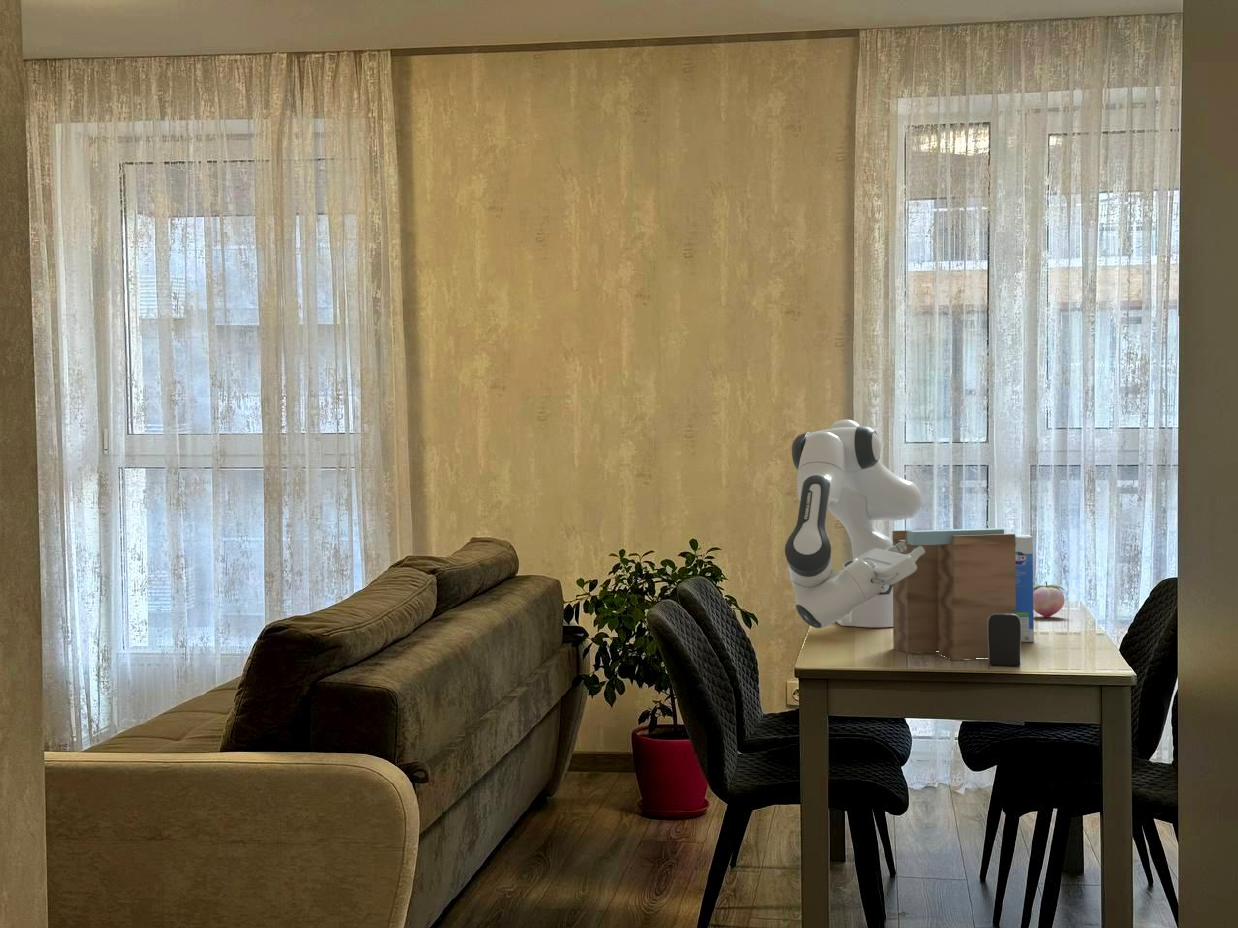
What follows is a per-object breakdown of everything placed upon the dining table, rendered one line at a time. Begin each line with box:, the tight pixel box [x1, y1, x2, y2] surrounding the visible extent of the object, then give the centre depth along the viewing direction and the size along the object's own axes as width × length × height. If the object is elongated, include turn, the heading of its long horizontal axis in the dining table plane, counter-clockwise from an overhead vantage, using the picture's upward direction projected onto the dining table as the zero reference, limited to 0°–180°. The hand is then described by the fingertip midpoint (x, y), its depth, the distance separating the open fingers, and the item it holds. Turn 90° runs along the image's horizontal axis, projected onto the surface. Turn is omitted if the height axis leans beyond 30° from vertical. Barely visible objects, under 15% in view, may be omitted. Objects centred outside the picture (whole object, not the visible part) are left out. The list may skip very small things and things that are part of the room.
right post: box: [938, 533, 1016, 661], centre depth 290 cm, size 8×15×28 cm, turn 102°
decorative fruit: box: [1033, 581, 1066, 619], centre depth 351 cm, size 9×8×10 cm
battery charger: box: [988, 613, 1022, 667], centre depth 279 cm, size 7×4×11 cm, turn 77°
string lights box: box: [1015, 534, 1035, 643], centre depth 313 cm, size 13×8×26 cm, turn 80°
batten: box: [907, 527, 1005, 545], centre depth 289 cm, size 4×22×3 cm, turn 102°
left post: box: [892, 528, 953, 654], centre depth 300 cm, size 8×15×28 cm, turn 102°
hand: (913, 546), depth 287 cm, fingers open, 8 cm apart
